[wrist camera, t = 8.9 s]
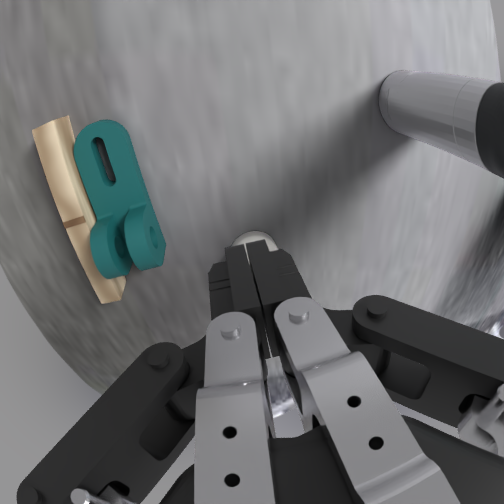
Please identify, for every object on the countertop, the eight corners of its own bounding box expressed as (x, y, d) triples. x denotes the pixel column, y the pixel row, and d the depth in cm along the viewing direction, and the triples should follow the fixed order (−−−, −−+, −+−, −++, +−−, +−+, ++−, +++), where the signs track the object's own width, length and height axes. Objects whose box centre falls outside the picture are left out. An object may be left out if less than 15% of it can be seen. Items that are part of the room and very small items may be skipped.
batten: (68, 115, 29) (52, 120, 25) (126, 280, 42) (120, 300, 38) (48, 124, 29) (31, 130, 25) (108, 284, 41) (101, 304, 37)
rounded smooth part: (273, 226, 41) (279, 238, 38) (278, 265, 45) (284, 279, 42) (225, 236, 41) (228, 249, 38) (234, 275, 44) (237, 290, 41)
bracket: (166, 243, 40) (160, 277, 33) (121, 255, 40) (108, 290, 33) (122, 111, 31) (103, 118, 24) (73, 131, 30) (45, 144, 24)
